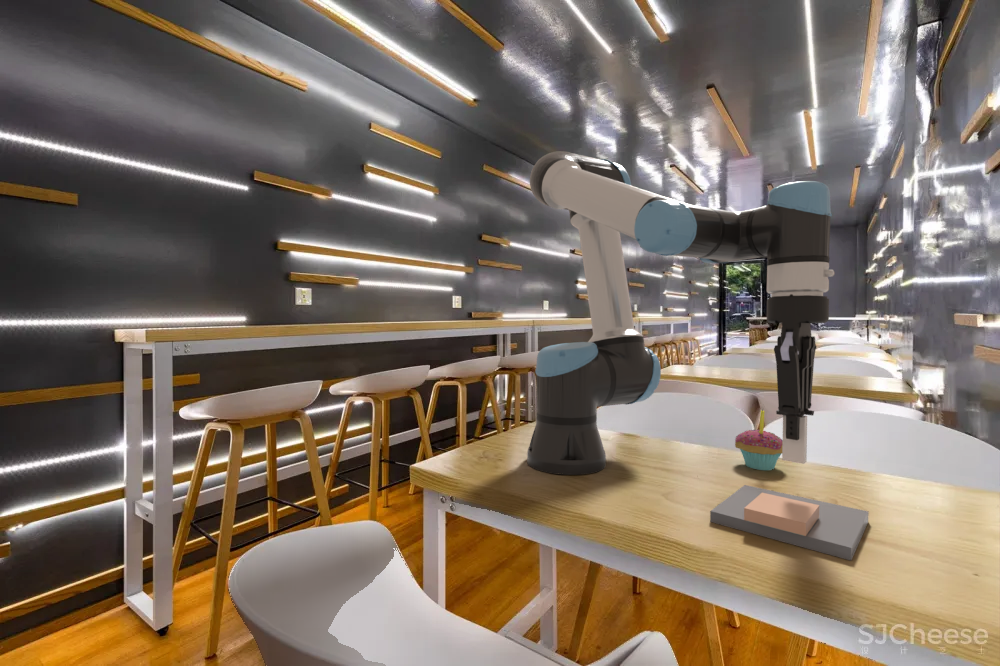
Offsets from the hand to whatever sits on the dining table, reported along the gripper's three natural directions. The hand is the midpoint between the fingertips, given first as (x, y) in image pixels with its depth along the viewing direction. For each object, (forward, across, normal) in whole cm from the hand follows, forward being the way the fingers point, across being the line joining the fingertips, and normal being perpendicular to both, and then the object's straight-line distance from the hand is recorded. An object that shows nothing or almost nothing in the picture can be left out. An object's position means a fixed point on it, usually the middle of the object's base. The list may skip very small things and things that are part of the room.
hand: (794, 460), depth 69 cm
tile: (+6, -3, 0) cm, 6 cm away
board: (+8, -3, 0) cm, 8 cm away
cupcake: (+8, +22, +11) cm, 26 cm away
